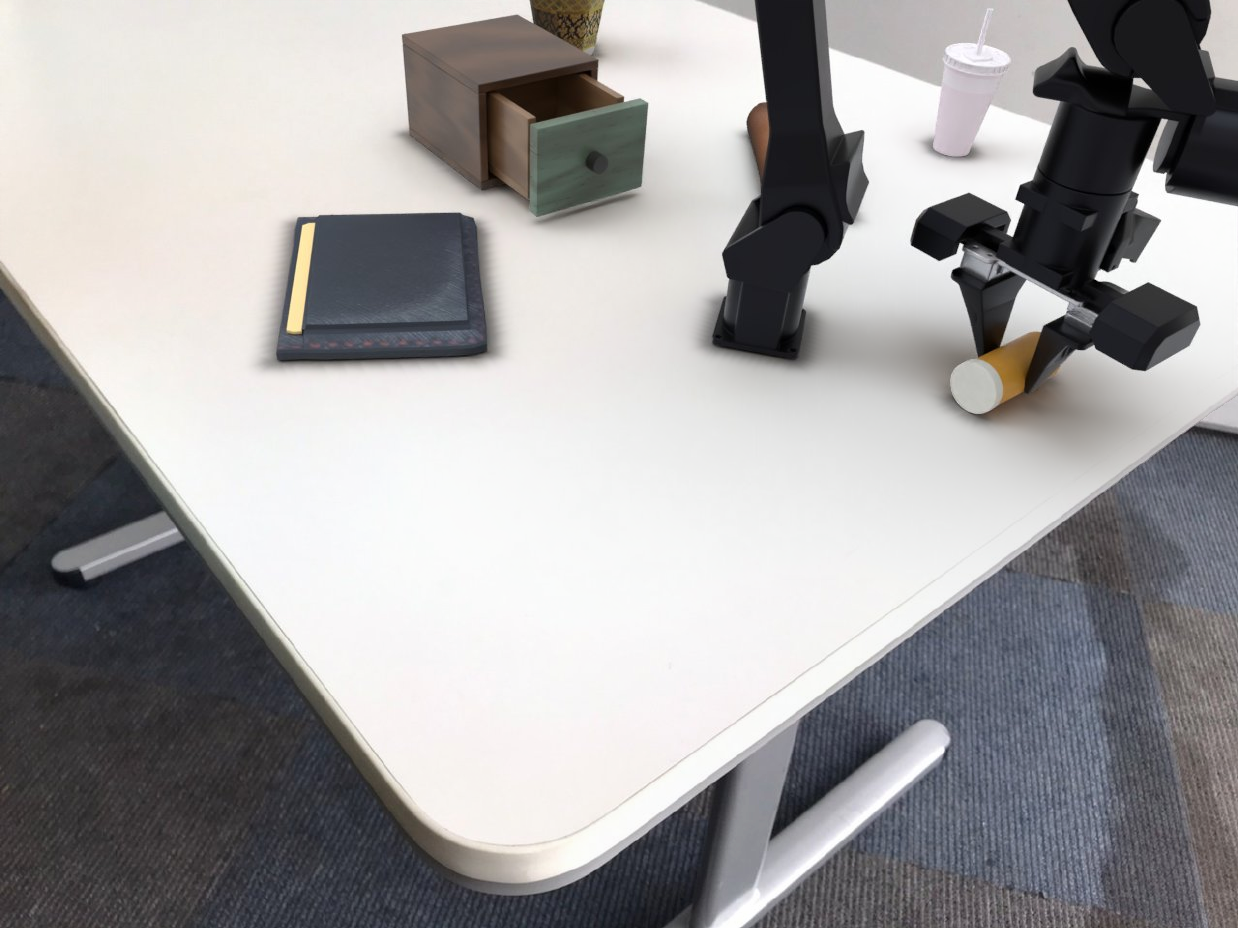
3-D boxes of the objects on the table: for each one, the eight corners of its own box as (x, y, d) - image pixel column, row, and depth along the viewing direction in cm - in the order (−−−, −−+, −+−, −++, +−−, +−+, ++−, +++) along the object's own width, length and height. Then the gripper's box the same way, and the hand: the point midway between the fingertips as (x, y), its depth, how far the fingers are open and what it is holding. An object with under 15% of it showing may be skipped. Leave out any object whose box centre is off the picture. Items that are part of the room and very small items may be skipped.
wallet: (487, 335, 72) (263, 339, 70) (487, 357, 73) (267, 362, 71) (480, 201, 86) (295, 202, 84) (481, 222, 88) (299, 222, 86)
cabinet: (594, 160, 98) (598, 59, 92) (481, 190, 92) (478, 84, 86) (517, 110, 106) (517, 14, 100) (409, 134, 100) (401, 34, 94)
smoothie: (912, 152, 104) (950, 9, 95) (928, 130, 109) (966, -8, 99) (974, 168, 102) (1019, 24, 93) (988, 145, 107) (1032, 6, 97)
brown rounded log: (859, 216, 92) (834, 153, 88) (785, 249, 94) (758, 189, 90) (825, 133, 105) (802, 75, 101) (761, 163, 107) (737, 108, 103)
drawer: (650, 192, 92) (657, 107, 87) (544, 223, 86) (546, 135, 81) (563, 136, 100) (566, 55, 95) (462, 161, 94) (458, 77, 89)
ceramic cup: (623, 49, 121) (628, -41, 115) (576, 73, 115) (579, -21, 108) (534, 24, 126) (534, -64, 119) (484, 45, 119) (482, -47, 113)
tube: (1009, 360, 77) (1028, 319, 74) (1050, 388, 75) (1072, 347, 72) (942, 393, 73) (960, 352, 70) (984, 424, 71) (1004, 382, 68)
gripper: (1296, 204, 61) (1186, 408, 72) (1037, 98, 72) (974, 288, 82) (1199, 253, 56) (1095, 465, 66) (935, 129, 67) (881, 329, 77)
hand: (1007, 378), depth 73 cm, fingers closed on tube, 3 cm apart
